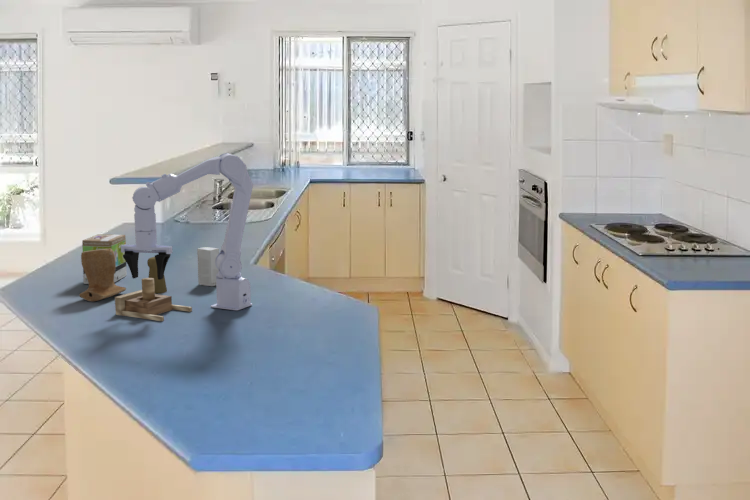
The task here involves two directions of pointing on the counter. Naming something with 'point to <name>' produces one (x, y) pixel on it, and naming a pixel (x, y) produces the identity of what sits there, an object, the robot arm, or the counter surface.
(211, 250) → the skincare box
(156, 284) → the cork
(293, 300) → the counter surface
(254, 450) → the counter surface
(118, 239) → the tea box
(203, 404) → the counter surface
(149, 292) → the oak dowel
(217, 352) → the counter surface
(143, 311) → the walnut block
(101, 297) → the brown wooden stand
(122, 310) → the birch rail and backstop
